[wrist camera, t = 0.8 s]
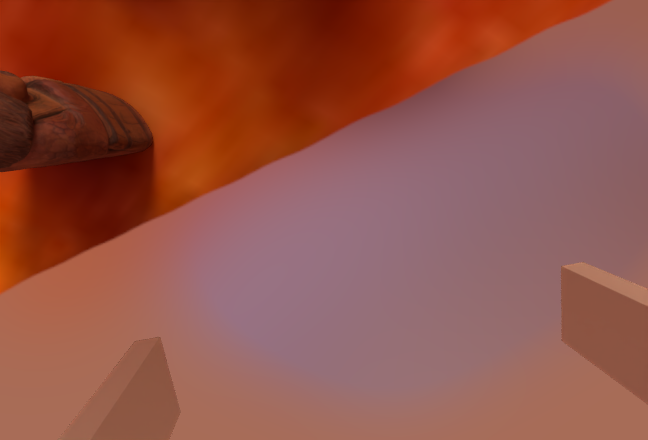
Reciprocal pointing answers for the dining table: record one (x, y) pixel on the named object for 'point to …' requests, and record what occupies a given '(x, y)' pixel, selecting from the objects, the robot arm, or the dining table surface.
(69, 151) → the wooden figurine
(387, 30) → the dining table surface
